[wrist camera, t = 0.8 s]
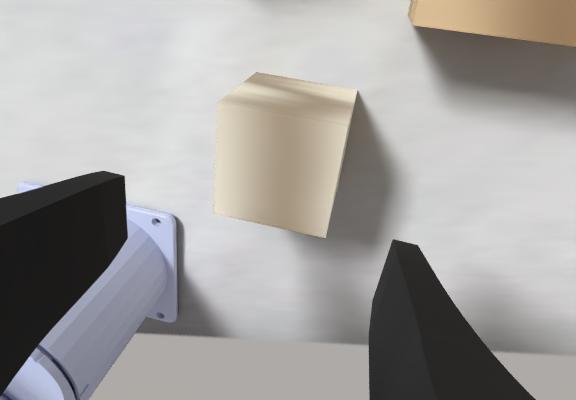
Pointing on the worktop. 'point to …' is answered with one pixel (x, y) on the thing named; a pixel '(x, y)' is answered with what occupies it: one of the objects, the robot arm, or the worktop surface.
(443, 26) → the oak block
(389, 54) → the worktop surface
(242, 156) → the birch block
